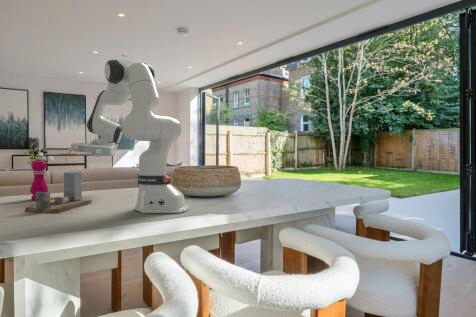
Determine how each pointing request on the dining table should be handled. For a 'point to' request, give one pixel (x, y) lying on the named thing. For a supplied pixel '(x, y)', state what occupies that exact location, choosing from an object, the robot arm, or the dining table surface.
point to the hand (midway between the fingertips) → (85, 150)
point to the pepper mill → (38, 178)
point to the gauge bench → (53, 204)
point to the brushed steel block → (72, 186)
